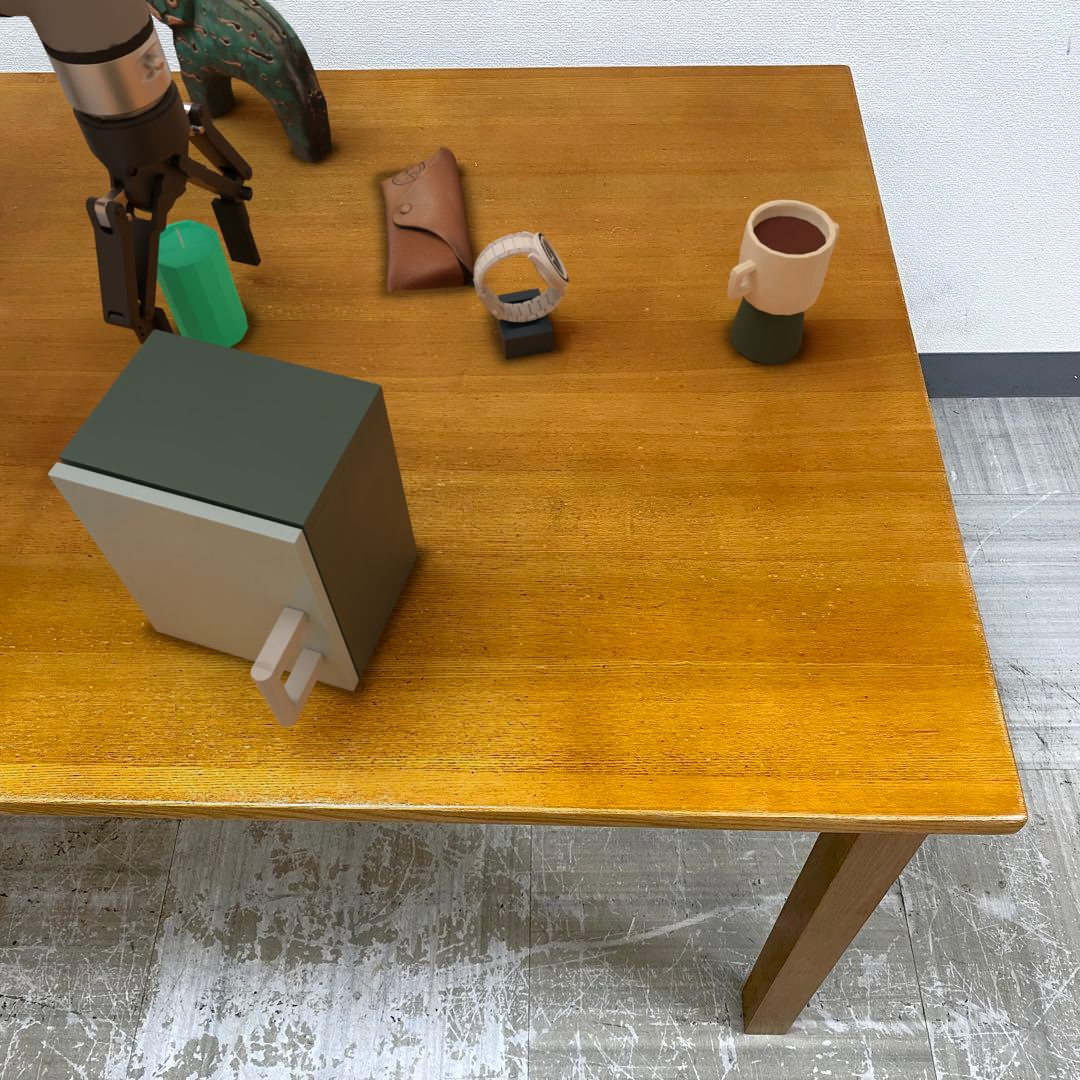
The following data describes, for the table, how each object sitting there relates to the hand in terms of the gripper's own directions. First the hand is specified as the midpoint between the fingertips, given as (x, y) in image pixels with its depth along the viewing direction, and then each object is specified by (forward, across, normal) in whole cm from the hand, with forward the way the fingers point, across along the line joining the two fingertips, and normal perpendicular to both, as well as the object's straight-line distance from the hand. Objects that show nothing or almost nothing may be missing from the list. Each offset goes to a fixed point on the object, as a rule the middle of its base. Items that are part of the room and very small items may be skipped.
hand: (211, 311), depth 91 cm
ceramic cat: (+3, +29, +10) cm, 31 cm away
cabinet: (+3, -23, -19) cm, 29 cm away
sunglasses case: (+3, +18, -13) cm, 23 cm away
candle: (+3, 0, 0) cm, 3 cm away
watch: (+3, +8, -27) cm, 28 cm away
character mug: (+4, +14, -48) cm, 50 cm away
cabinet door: (+3, -31, -19) cm, 37 cm away
